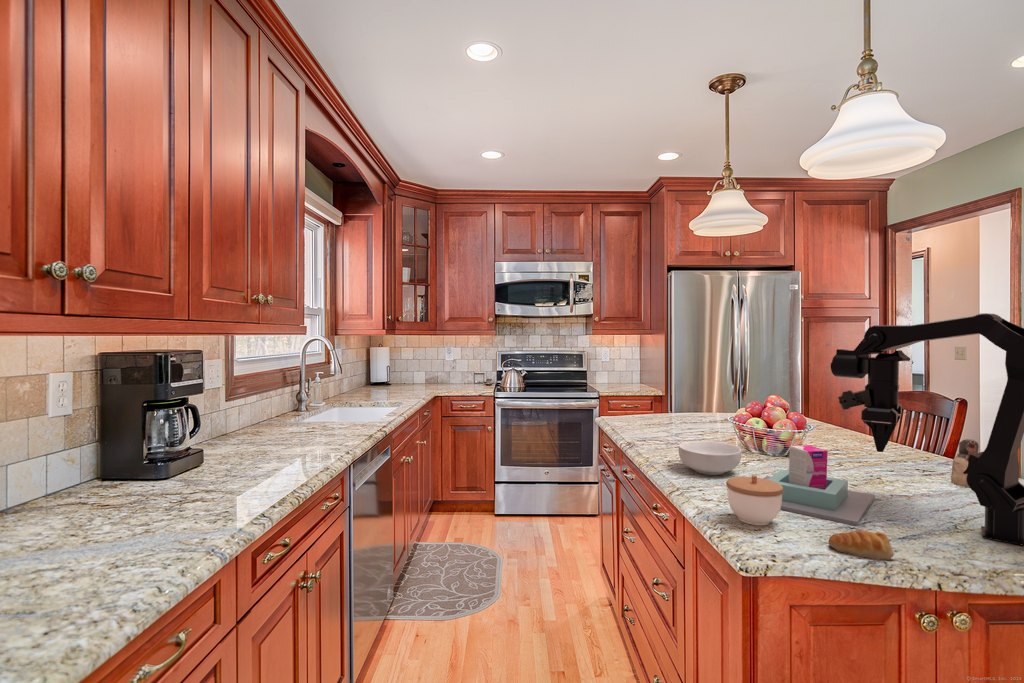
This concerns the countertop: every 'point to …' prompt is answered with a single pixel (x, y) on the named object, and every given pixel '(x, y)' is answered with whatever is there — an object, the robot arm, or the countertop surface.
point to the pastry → (863, 544)
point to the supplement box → (808, 466)
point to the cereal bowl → (710, 456)
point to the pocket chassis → (823, 499)
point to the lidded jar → (754, 499)
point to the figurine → (963, 461)
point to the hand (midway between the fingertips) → (881, 448)
